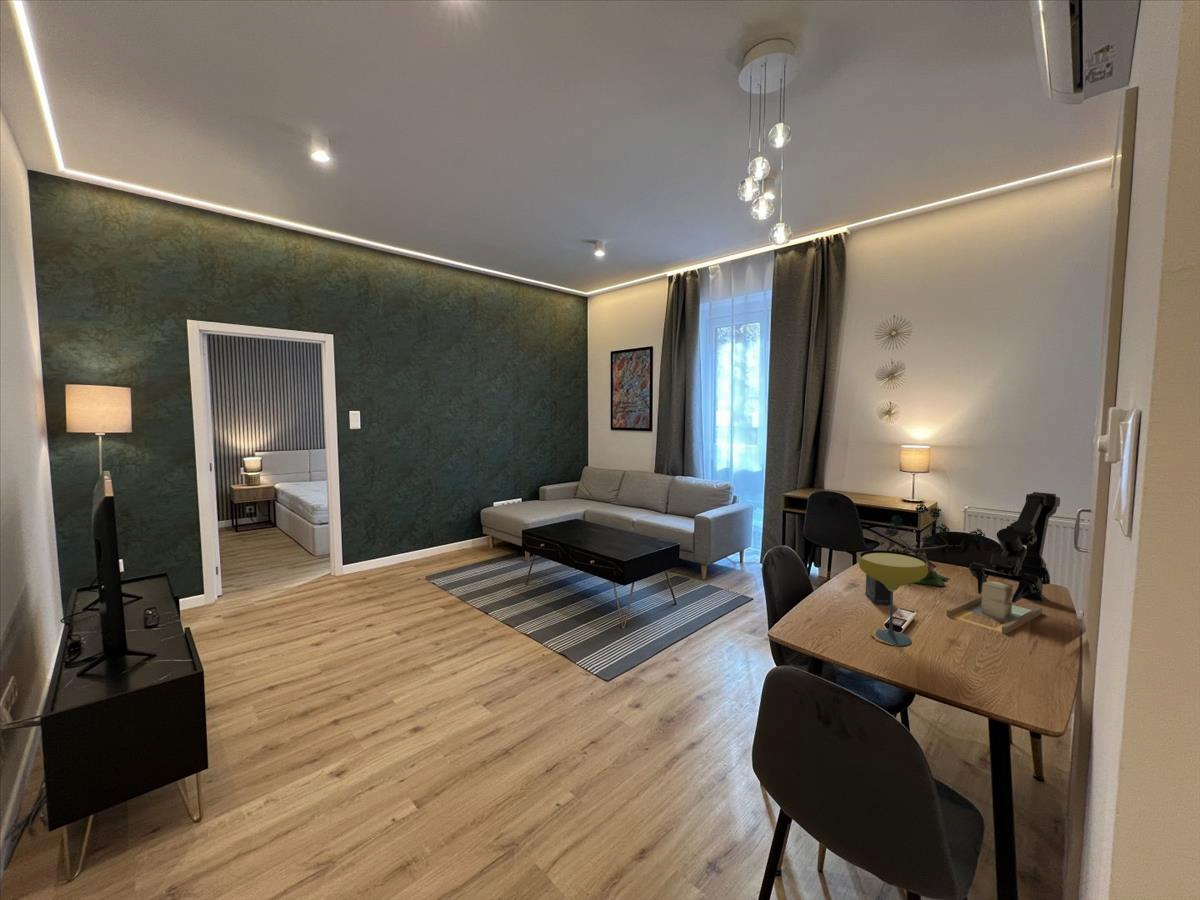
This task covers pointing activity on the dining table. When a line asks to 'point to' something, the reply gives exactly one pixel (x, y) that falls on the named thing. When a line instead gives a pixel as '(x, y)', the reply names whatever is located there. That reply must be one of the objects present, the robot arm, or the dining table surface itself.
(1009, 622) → the trough deck
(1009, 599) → the maple block
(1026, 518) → the robot arm
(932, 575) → the bonsai tree
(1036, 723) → the dining table surface
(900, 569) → the cocktail glass
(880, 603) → the small box
